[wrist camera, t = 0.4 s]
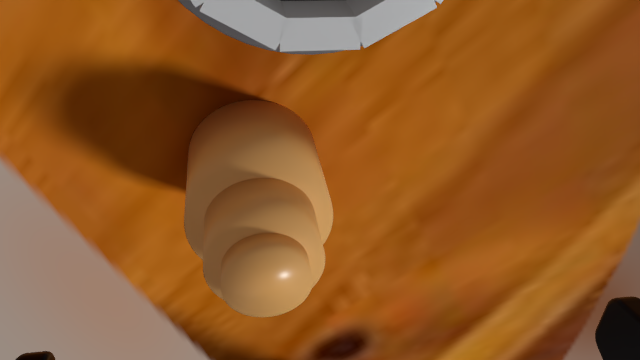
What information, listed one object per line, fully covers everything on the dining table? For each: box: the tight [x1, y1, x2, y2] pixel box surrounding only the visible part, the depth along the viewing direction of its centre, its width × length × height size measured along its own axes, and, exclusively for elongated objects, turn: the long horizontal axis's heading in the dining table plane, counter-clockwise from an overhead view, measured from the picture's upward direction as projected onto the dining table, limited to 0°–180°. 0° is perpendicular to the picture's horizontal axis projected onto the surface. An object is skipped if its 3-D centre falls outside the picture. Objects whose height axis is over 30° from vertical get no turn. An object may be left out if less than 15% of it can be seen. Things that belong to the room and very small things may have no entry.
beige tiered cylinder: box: [184, 100, 333, 317], centre depth 19 cm, size 5×5×7 cm
